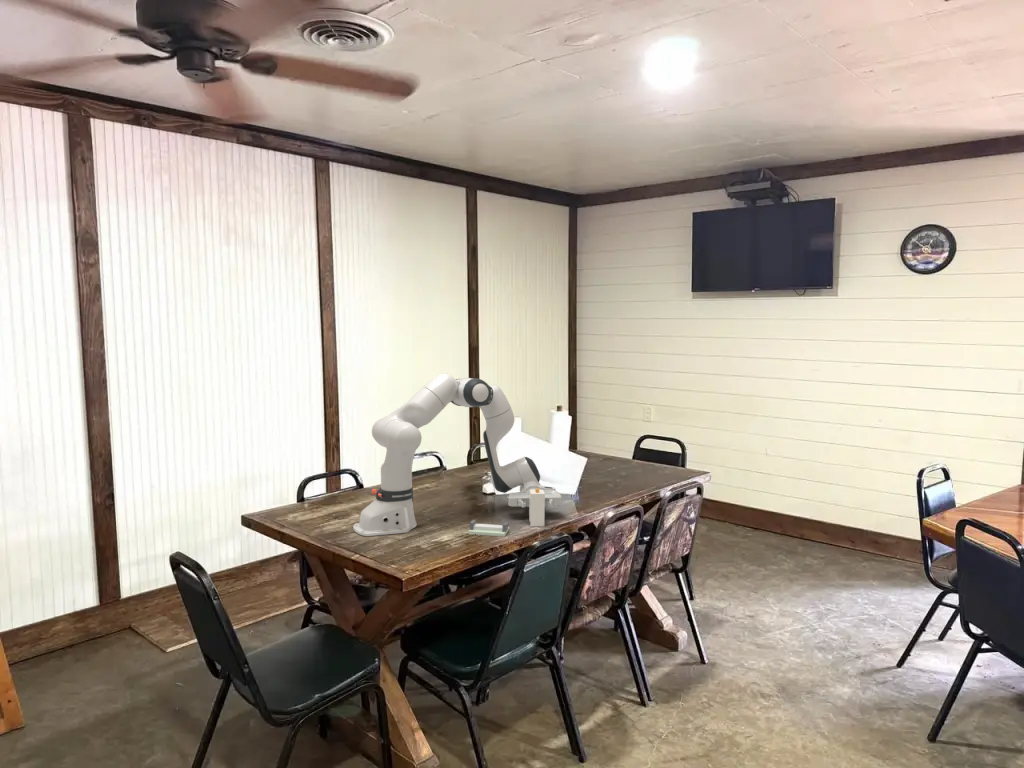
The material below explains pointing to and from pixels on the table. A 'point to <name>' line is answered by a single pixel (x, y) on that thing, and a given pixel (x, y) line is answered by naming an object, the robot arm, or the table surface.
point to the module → (536, 507)
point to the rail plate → (488, 529)
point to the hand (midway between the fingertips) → (536, 505)
